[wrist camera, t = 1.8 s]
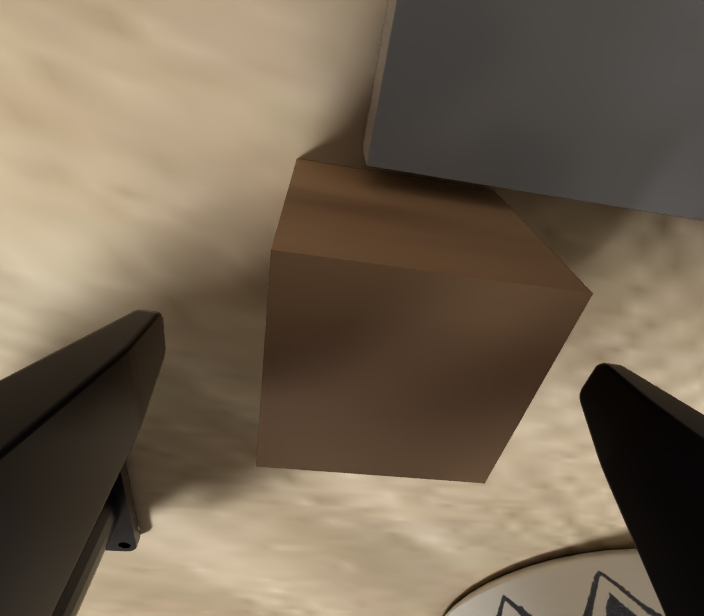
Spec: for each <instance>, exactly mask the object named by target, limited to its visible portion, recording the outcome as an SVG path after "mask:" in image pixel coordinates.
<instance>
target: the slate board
mask: <svg viewBox="0 0 704 616" xmlns="http://www.w3.org/2000/svg"><path fill="white" fill-rule="evenodd" d="M362 149H363V153H364V157H365V162H366V165H367V166H373V167H379V168H385V169H391V170H397V171H403V172H409V173H415V174H421V175H427V176H433V177H439V178H445V179H452V180H458V181H464V182H470V183H476V184H482V185H488V186H494V187H500V188H506V189H512V190H518V191H524V192H530V193H536V194H543V195H549V196H555V197H561V198H567V199H573V200H579V201H585V202H591V203H597V204H603V205H609V206H615V207H621V208H627V209H634V210H640V211H646V212H652V213H658V214H664V215H670V216H676V217H682V218H688V219H694V220H700V221H704V0H388V5H387V11H386V16H385V22H384V28H383V34H382V39H381V45H380V51H379V56H378V62H377V68H376V73H375V79H374V85H373V90H372V96H371V102H370V108H369V113H368V119H367V125H366V130H365V136H364V142H363V147H362Z"/></svg>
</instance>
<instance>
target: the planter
mask: <svg viewBox="0 0 704 616" xmlns="http://www.w3.org/2000/svg"><path fill="white" fill-rule="evenodd" d="M445 616H665V614H664V612H663V609H662V607H661V605H660V602H659V600H658V598H657V595H656V593H655V591H654V588H653V586H652V584H651V581H650V579H649V577H648V575H647V572H646V570H645V568H644V565H643V563H642V561H641V558H640V556H639V554H638V551H637V549H619V550H604V551H597V552H589V553H582V554H576V555H572V556H567V557H562V558H557V559H552V560H549V561H545V562H542V563H538V564H535V565H531V566H528V567H525V568H522V569H520V570H517V571H514V572H511V573H509V574H506V575H504V576H502V577H499V578H497V579H495V580H493V581H491V582H489V583H486V584H485V585H483V586H481V587H480V588H478V589H476V590H475V591H473V592H471V593H470V594H468V595H467V596H466V597H464V598H463V599H462V600H461V601H459V602H458V603H457V604H455V605H454V606H453V607H452V608H451V609H450V611H449V612H448V613H447V614H446V615H445Z"/></svg>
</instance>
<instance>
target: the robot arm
mask: <svg viewBox="0 0 704 616" xmlns="http://www.w3.org/2000/svg"><path fill="white" fill-rule="evenodd" d="M165 348H166V347H165V335H164V324H163V317H162V315H161V314H160V313H159V312H156V311H147V310H136V311H134V312H132V313H130V314H128V315H126V316H124V317H122V318H120V319H118V320H116V321H114V322H112V323H111V324H109V325H107V326H105V327H103V328H101V329H99V330H97V331H95V332H93V333H91V334H89V335H87V336H85V337H83V338H81V339H79V340H78V341H76V342H74V343H72V344H70V345H68V346H66V347H64V348H62V349H60V350H58V351H56V352H54V353H52V354H50V355H48V356H46V357H45V358H43V359H41V360H39V361H37V362H35V363H33V364H31V365H29V366H27V367H25V368H23V369H21V370H19V371H17V372H15V373H13V374H12V375H10V376H8V377H6V378H4V379H2V380H0V616H76V615H77V613H78V611H79V609H80V606H81V604H82V602H83V599H84V597H85V595H86V593H87V590H88V588H89V586H90V584H91V581H92V579H93V577H94V574H95V572H96V570H97V568H98V565H99V563H100V561H101V558H102V556H103V554H104V552H105V550H110V551H132V550H134V549H136V547H137V544H138V542H139V539H140V534H139V529H138V524H137V519H136V514H135V509H134V504H133V499H132V494H131V489H130V484H129V479H128V474H127V469H126V465H125V460H126V458H127V456H128V453H129V451H130V449H131V447H132V445H133V443H134V441H135V439H136V436H137V434H138V432H139V430H140V427H141V425H142V422H143V419H144V416H145V413H146V410H147V407H148V404H149V401H150V398H151V395H152V392H153V389H154V386H155V383H156V380H157V377H158V374H159V371H160V369H161V366H162V363H163V360H164V356H165ZM580 403H581V406H582V409H583V412H584V415H585V418H586V421H587V424H588V428H589V431H590V434H591V437H592V440H593V443H594V446H595V449H596V453H597V456H598V459H599V461H600V464H601V467H602V469H603V472H604V474H605V477H606V479H607V482H608V484H609V486H610V489H611V491H612V493H613V496H614V498H615V500H616V502H617V505H618V507H619V509H620V512H621V514H622V516H623V519H624V521H625V523H626V526H627V528H628V530H629V533H630V535H631V537H632V540H633V542H634V544H635V547H636V549H637V551H638V554H639V556H640V558H641V561H642V563H643V565H644V568H645V570H646V572H647V575H648V577H649V579H650V581H651V584H652V586H653V588H654V591H655V593H656V595H657V598H658V600H659V602H660V605H661V607H662V609H663V612H664V614H665V616H704V415H703V414H701V413H700V412H698V411H696V410H695V409H693V408H691V407H690V406H688V405H686V404H685V403H683V402H682V401H680V400H678V399H677V398H675V397H673V396H672V395H670V394H668V393H667V392H665V391H663V390H662V389H660V388H658V387H657V386H655V385H653V384H652V383H650V382H648V381H647V380H645V379H643V378H642V377H640V376H638V375H637V374H635V373H633V372H632V371H630V370H628V369H627V368H625V367H623V366H621V365H617V364H609V363H601V364H599V365H597V366H596V367H595V369H594V370H593V372H592V373H591V375H590V376H589V378H588V380H587V381H586V383H585V384H584V386H583V387H582V389H581V392H580Z"/></svg>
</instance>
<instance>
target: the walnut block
mask: <svg viewBox="0 0 704 616" xmlns="http://www.w3.org/2000/svg"><path fill="white" fill-rule="evenodd" d="M592 294H593V293H592V292H591V291H590V290H589V289H588V288H587V287H586V286H585V285H584V284H583V283H582V282H581V281H580V280H579V279H578V277H577V276H576V275H575V274H574V273H573V272H572V271H571V270H570V269H569V268H568V267H567V266H566V265H565V264H564V263H563V262H562V261H561V260H560V259H559V258H558V257H557V256H556V255H555V254H554V252H553V251H552V250H551V249H550V248H549V247H548V246H547V245H546V244H545V243H544V242H543V241H542V240H541V239H540V238H539V237H538V236H537V235H536V234H535V233H534V232H533V231H532V230H531V229H530V228H529V226H528V225H527V224H526V223H525V222H524V221H523V220H522V219H521V218H520V217H519V216H518V215H517V214H516V213H515V212H514V211H513V210H512V209H511V208H510V207H509V206H508V205H507V204H506V203H505V201H504V200H503V199H502V198H501V197H500V196H499V195H498V194H497V193H496V192H495V191H492V190H486V189H480V188H474V187H468V186H462V185H456V184H449V183H443V182H437V181H431V180H425V179H419V178H413V177H407V176H401V175H395V174H388V173H382V172H376V171H370V170H364V169H358V168H352V167H346V166H340V165H333V164H327V163H321V162H315V161H309V160H303V159H297V160H296V164H295V167H294V171H293V174H292V178H291V181H290V185H289V189H288V192H287V196H286V199H285V203H284V206H283V210H282V213H281V217H280V220H279V224H278V228H277V231H276V235H275V238H274V242H273V245H272V249H271V260H270V275H269V289H268V303H267V317H266V331H265V346H264V360H263V374H262V388H261V402H260V417H259V431H258V445H257V459H256V466H259V467H272V468H286V469H299V470H313V471H326V472H340V473H354V474H367V475H381V476H394V477H408V478H421V479H435V480H448V481H462V482H475V483H485V482H486V480H487V478H488V476H489V475H490V473H491V471H492V469H493V468H494V466H495V464H496V462H497V461H498V459H499V457H500V455H501V454H502V452H503V450H504V448H505V447H506V445H507V443H508V441H509V440H510V438H511V436H512V434H513V433H514V431H515V429H516V427H517V426H518V424H519V422H520V420H521V419H522V417H523V415H524V413H525V412H526V410H527V408H528V406H529V405H530V403H531V401H532V399H533V398H534V396H535V394H536V392H537V391H538V389H539V387H540V385H541V384H542V382H543V380H544V378H545V377H546V375H547V373H548V371H549V370H550V368H551V366H552V364H553V363H554V361H555V359H556V357H557V356H558V354H559V352H560V350H561V349H562V347H563V345H564V343H565V342H566V340H567V338H568V336H569V335H570V333H571V331H572V329H573V328H574V326H575V324H576V322H577V321H578V319H579V317H580V315H581V314H582V312H583V310H584V308H585V307H586V305H587V303H588V301H589V300H590V298H591V296H592Z"/></svg>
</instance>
